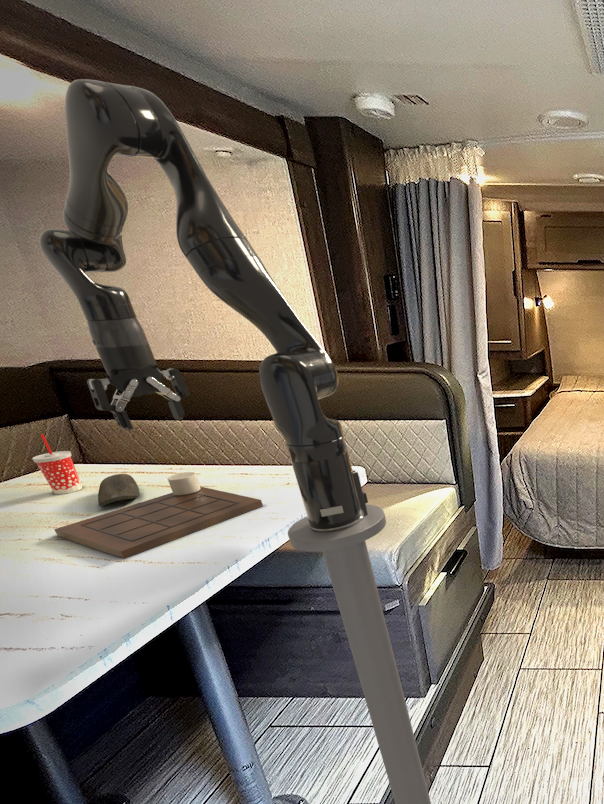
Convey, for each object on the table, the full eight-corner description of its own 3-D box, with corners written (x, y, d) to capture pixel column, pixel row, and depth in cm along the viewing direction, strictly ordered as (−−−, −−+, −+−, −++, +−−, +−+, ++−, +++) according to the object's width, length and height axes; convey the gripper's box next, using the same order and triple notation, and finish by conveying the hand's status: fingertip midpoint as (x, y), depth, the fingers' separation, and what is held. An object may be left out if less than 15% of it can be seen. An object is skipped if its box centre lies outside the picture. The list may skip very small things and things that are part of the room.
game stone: (193, 486, 117) (187, 470, 115) (205, 488, 115) (199, 473, 114) (168, 493, 113) (162, 478, 111) (181, 496, 111) (175, 480, 110)
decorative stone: (140, 504, 112) (133, 486, 110) (100, 512, 108) (91, 495, 106) (141, 483, 123) (134, 467, 122) (104, 490, 119) (97, 474, 118)
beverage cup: (58, 488, 122) (31, 432, 116) (91, 483, 124) (67, 429, 119) (43, 497, 116) (14, 439, 111) (78, 492, 119) (52, 435, 114)
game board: (197, 491, 118) (195, 484, 118) (263, 506, 109) (260, 499, 109) (57, 536, 98) (53, 528, 97) (124, 558, 89) (120, 550, 88)
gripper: (82, 348, 90) (120, 435, 96) (176, 339, 102) (204, 417, 108) (63, 348, 93) (100, 431, 99) (156, 339, 105) (184, 414, 111)
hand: (154, 424), depth 104 cm, fingers open, 8 cm apart
